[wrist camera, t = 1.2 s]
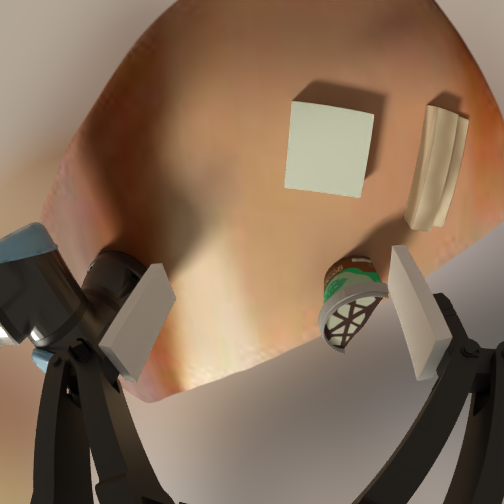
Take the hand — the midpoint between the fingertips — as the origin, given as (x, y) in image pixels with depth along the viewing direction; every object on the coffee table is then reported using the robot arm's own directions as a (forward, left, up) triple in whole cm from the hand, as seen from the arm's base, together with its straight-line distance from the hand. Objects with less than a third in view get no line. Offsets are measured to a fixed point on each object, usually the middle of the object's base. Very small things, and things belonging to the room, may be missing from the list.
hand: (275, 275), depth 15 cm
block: (+4, +4, -22) cm, 23 cm away
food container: (+9, -15, -22) cm, 29 cm away
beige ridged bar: (+20, +4, -22) cm, 30 cm away
